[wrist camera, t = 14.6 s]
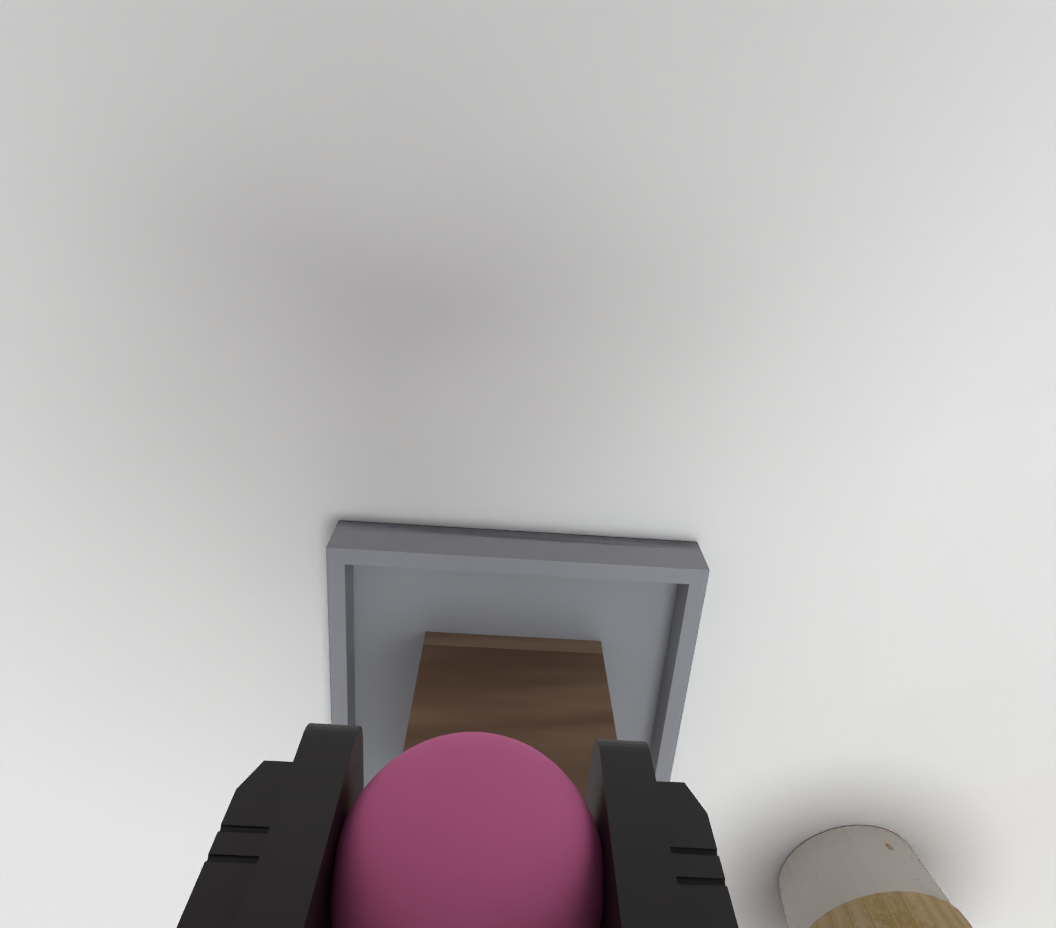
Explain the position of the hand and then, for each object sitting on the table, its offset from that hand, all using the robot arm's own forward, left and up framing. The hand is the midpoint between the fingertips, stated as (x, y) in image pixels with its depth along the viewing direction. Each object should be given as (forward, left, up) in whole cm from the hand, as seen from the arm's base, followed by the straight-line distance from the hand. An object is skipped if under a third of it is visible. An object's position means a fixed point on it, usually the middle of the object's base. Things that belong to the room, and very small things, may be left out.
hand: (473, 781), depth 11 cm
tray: (+12, +1, -17) cm, 20 cm away
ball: (0, 0, +1) cm, 1 cm away
